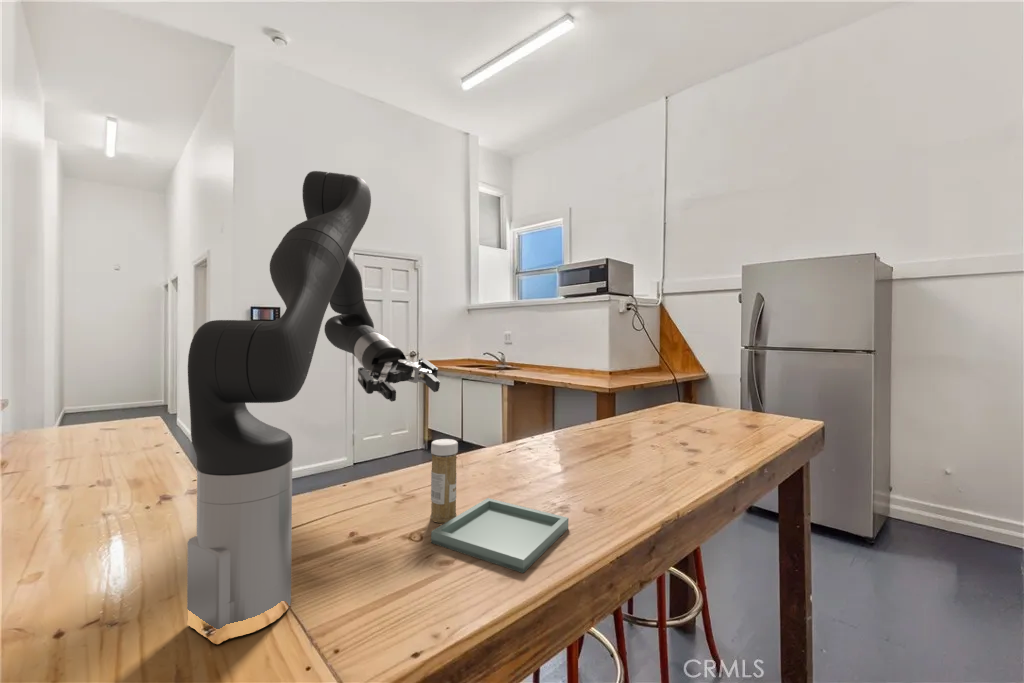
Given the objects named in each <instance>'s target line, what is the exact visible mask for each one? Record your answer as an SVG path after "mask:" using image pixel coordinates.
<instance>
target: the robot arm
mask: <svg viewBox="0 0 1024 683" xmlns="http://www.w3.org/2000/svg"><path fill="white" fill-rule="evenodd" d="M302 203H303V210H304V213H305V216H306V220H304V221H302V222H300V223H297V224H295V226H293V227H292V228H290V229H289V230H288V231H287V232H286V234H285V235H284V236H283V238H282V239H281V240H280V242H279V244H278V245H277V247H276V249H275V250H274V252H273V253H272V255H271V257H270V260H269V274H270V277H271V278H270V279H271V281H272V283H273V286H274V288H275V290H276V291H277V293H278V295H279V297H280V298H281V300H282V301H283V303H284V305H285V307H286V308H285V311H284V313H283V315H281V316H280V317H279V318H277V319H275V320H252V319H251V320H250V319H249V320H248V319H247V320H246V319H245V320H243V319H237V320H236V319H219V320H218V319H217V320H209V321H207V322H205V323H203V324H202V325H201V326H200V327H199V328H198V329H197V330H196V331H195V333H194V334H193V337H192V340H191V343H190V346H189V349H188V355H187V385H188V388H187V389H188V398H189V402H188V403H189V417H190V437H191V444H192V447H193V449H194V452H195V456H196V536H194V537H191V538H189V539H188V540H187V559H186V560H187V561H186V562H187V580H186V581H187V583H186V584H187V585H186V586H187V587H186V588H187V589H186V592H187V593H186V598H187V600H186V601H187V604H186V610H187V609H188V610H189V611H191V612H192V613H193V614H195V615H196V616H198V617H199V618H200V619H202V620H203V621H205V622H206V623H208V624H209V625H211V626H213V627H214V628H216V629H220V628H222V627H223V626H225V625H226V624H230V623H234V622H238V621H243V620H246V619H248V618H252V617H255V616H257V615H260V614H261V613H264V612H265V611H267V610H269V609H271V608H273V607H274V606H276V605H277V604H278V603H280V602H281V601H286V602H287V603H288V605H289V606H290V607H291V603H292V544H293V543H292V538H293V537H292V535H293V533H292V530H293V528H292V527H293V526H292V522H293V517H292V516H293V513H292V512H293V454H294V453H293V446H294V445H293V438H292V436H291V435H290V433H288V432H287V431H285V430H283V429H281V428H278V427H276V426H273V425H270V424H268V423H265V422H263V421H262V420H260V419H259V418H257V417H256V416H254V415H253V413H251V412H250V411H249V409H248V408H247V405H246V404H272V403H273V404H275V403H283V402H288V401H291V400H292V399H294V398H295V397H297V395H298V394H299V392H300V391H301V389H302V388H303V386H304V384H305V382H306V379H307V376H308V374H309V370H310V366H311V363H312V360H313V356H314V353H315V348H316V344H317V342H318V338H319V334H320V331H321V326H322V324H323V320H324V317H325V314H326V312H327V309H328V306H329V307H330V308H331V309H332V311H334V312H335V313H337V314H338V315H334V316H332V317H330V318H328V319H327V320H326V322H325V323H324V333H325V337H326V338H327V340H328V342H329V343H331V345H333V346H334V347H336V348H337V349H339V350H341V351H345V352H346V353H350V354H352V355H353V356H354V357H355V358H356V359H357V361H358V362H359V364H360V365H361V366H362V367H358V369H357V381H358V383H359V385H360V386H361V388H363V390H364V391H365V393H366V394H370V395H371V394H373V393H374V392H377V393H378V394H381V395H382V396H383V398H384V399H386V400H389V401H390V402H395V401H396V398H397V391H396V389H395V388H394V387H393V386H392V385H391V384H398V383H401V382H410V383H413V384H418V383H422V384H425V385H426V386H427V387H428V388H429V389H430V390H431V391H432V392H434V393H437V392H439V390H440V385H441V381H440V379H438V372H439V367H438V366H436V365H434V364H433V363H432V362H430V361H429V360H427V358H425V357H418V361H416V362H413V361H412V360H408V359H407V358H406V356H405V355H406V354H404V352H403V351H402V350H401V349H400V348H399V347H398V346H396V344H395V343H394V342H392V341H391V340H390V339H389V338H387V337H386V336H384V335H382V334H381V333H379V332H378V331H377V330H376V329H375V325H374V322H373V319H372V317H371V316H370V315H371V314H370V313H369V311H368V308H367V306H366V303H365V299H364V291H363V289H364V288H363V280H362V276H361V273H360V271H359V268H358V266H357V264H356V263H355V261H353V259H352V258H351V257H350V256H349V255H350V252H351V249H352V247H353V245H354V243H355V241H356V240H357V237H358V235H360V233H361V231H362V229H363V228H364V226H365V224H366V222H367V220H368V217H369V214H370V211H371V210H370V209H371V206H372V195H371V190H370V186H369V185H368V183H367V182H366V181H365V180H364V179H363V178H361V177H359V176H357V175H352V174H344V173H337V172H329V171H321V170H313V171H309V172H308V173H307V174H306V176H305V177H304V181H303V183H302ZM413 373H414V376H412V375H413ZM421 374H423V375H424V377H423V376H421Z"/></svg>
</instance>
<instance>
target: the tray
mask: <svg viewBox="0 0 1024 683" xmlns="http://www.w3.org/2000/svg"><path fill="white" fill-rule="evenodd" d="M568 529H569V517H567V516H563V515H559V514H556V513H555V514H554V513H550V512H547V511H541V510H537V509H534V508H532V507H531V508H530V507H526V506H522V505H518V504H513V503H510V502H505V501H502V500H499V499H498V500H497V499H495V498H489V497H487V498H485V499H483V500H482V501H480V502H478V503H477V504H475V505H474V506H472V507H470V508H468V509H466V510H465V511H463V512H462V513H460V514H458V515H456V517H455V518H453V519H451V520H450V521H448V522H446V523H442V524H441V525H439V526H438V527H436V528H434V529H433V530H431V534H430V537H431V538H430V541H431V542H430V543H431V544H434V545H437V546H439V547H442V548H445V549H449V550H452V551H454V552H457V553H461V554H464V555H467V556H470V557H472V558H476V559H479V560H482V561H485V562H489V563H490V564H495V565H497V566H500V567H504V568H506V569H510V570H512V571H515V572H519V573H522V574H524V573H525V572H526V571H527V570H528V569H529V568H530V567H531V566H533V564H534V563H535V562H537V560H538V559H539V558H540V557H541V556H542V555H543V554H544V553H545V552H546V551H547V550H549V548H551V546H552V545H554V543H555V542H556V541H557V540H558V539H559V538H560V537H561V536H562V535H564V533H566V531H567V530H568Z"/></svg>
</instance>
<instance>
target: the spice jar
mask: <svg viewBox="0 0 1024 683" xmlns="http://www.w3.org/2000/svg"><path fill="white" fill-rule="evenodd" d="M458 451H459V442H458V441H457V440H455V439H451V438H441V439H434V440H433V441H431V446H430V452H431V472H430V474H431V475H430V478H431V479H430V480H431V481H430V484H431V485H430V501H431V504H430V505H431V511H430V512H431V514H430V521H432V522H435V523H438V524H445V523H446V522H448V521H450V520H451V519H453V518H455V517H456V516H457V513H456V512H457V511H456V510H457V509H456V508H457V475H458V474H457V455H458Z"/></svg>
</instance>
